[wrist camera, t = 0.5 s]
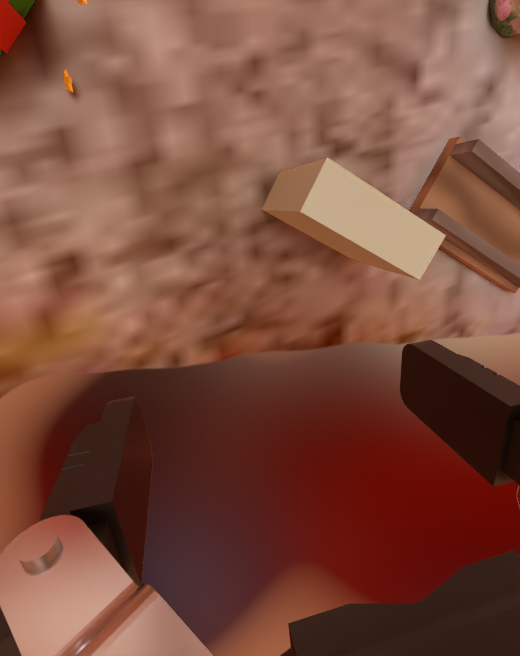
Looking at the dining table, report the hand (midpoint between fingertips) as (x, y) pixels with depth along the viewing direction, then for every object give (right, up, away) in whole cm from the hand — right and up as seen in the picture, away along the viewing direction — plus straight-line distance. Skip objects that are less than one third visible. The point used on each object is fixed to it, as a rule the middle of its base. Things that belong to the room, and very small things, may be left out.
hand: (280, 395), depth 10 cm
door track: (+26, +15, +32) cm, 44 cm away
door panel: (+6, +14, +27) cm, 31 cm away
